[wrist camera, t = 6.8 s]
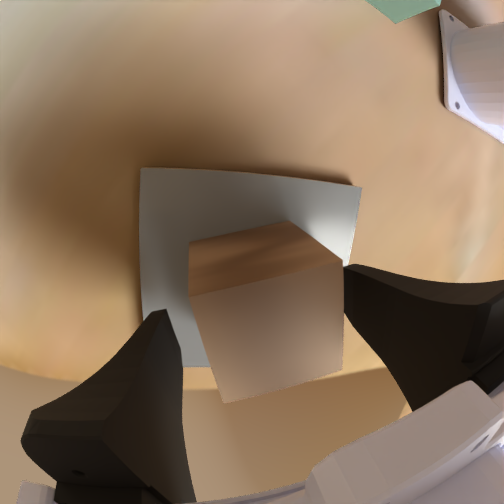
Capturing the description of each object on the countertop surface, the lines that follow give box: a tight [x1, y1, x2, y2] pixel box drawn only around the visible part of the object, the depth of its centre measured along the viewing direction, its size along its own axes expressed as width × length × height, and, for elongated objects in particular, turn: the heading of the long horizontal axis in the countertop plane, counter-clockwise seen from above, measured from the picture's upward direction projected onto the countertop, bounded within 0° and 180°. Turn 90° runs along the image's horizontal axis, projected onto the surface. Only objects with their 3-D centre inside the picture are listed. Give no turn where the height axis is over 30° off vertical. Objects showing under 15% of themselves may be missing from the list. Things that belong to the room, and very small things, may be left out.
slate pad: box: [139, 167, 362, 367], centre depth 14 cm, size 10×10×1 cm
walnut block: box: [188, 221, 344, 403], centre depth 11 cm, size 4×4×5 cm
